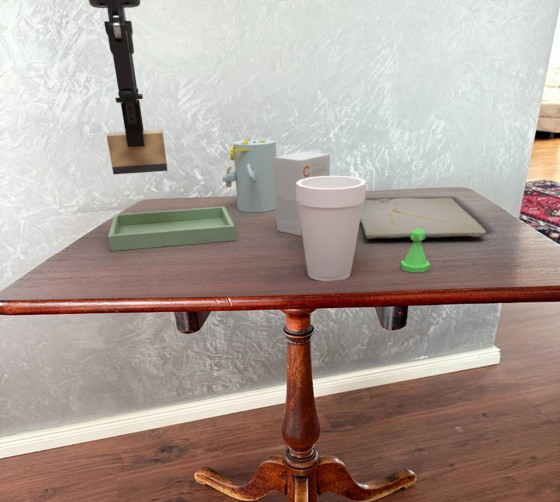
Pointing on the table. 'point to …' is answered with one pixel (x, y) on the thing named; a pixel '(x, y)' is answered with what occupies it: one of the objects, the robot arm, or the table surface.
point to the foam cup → (330, 223)
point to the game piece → (416, 254)
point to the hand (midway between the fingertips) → (136, 143)
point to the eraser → (137, 153)
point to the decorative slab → (417, 218)
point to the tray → (170, 228)
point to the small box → (286, 178)
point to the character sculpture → (253, 174)
